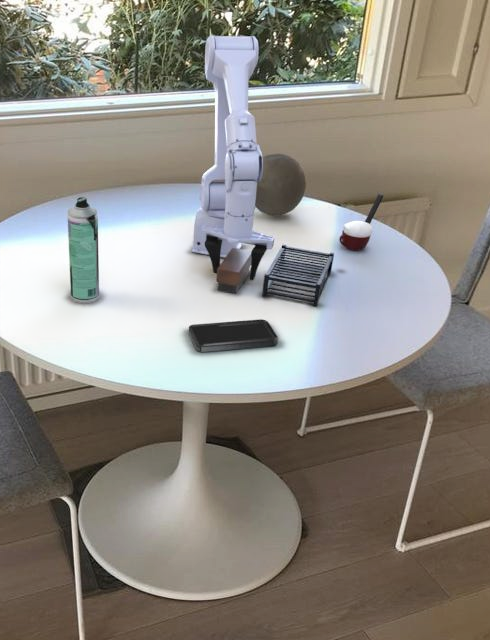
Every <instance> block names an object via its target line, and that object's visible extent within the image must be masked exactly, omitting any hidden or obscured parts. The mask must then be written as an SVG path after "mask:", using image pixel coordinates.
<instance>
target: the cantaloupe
mask: <svg viewBox="0 0 490 640" xmlns="http://www.w3.org/2000/svg"><path fill="white" fill-rule="evenodd" d="M262 158H263V171H262V177H261V179H260V181H258V180H256V181H257V190H256V200H255V208H256V210H258V211H259V212H261V213H263V214H265V215H268V216H272V217H275V216H283V215H285V214H288V213H290V212H292V211H293V210H295V208H297V207H298V205H300V203H301V201H302V200H303V198H304V196H305V193H306V189H307V188H306V187H307V183H306V175H305V173H304V170H303V169H302V166H301V165H300V162H299V161H297V160H296V159H294V158H293V157H292V156H289V155H287V154H284V153H272V154H271V153H270V154H266V155H263V156H262Z"/></svg>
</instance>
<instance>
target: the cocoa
mask: <svg viewBox="0 0 490 640" xmlns="http://www.w3.org/2000/svg"><path fill="white" fill-rule="evenodd" d="M383 198H384V194H382V193H380V192H379V193H378V194H377V195H376V198H375V200H374V202H373V204H372V206H371V208H370V210H369V213H368V215H367V217H366V218H365V221H363V220H353V221H349V222H346V223H345V224H343V230H342V233H341V234H340V236H339V239H338V241H339V243H340V245H341V246H343V247H345V248H346V249H348V250H351V251H361V250H364V249H365V248H366V247H367V245H368V244H369V242H370V239H371V235H372V234H373V231H374V230H373V226H372V225H371V223H372V221H373V219H374V217H375V215H376V213H377V211H378V209H379V206H380V204H381V203H382V200H383Z"/></svg>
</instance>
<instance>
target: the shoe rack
mask: <svg viewBox="0 0 490 640" xmlns="http://www.w3.org/2000/svg"><path fill="white" fill-rule="evenodd" d="M334 257H335V253H334V252H329V253H328V252H322V251H315V250H311V249H305V248H300V247H299V248H298V247H292V246H289V245H288V246H287V244H283V243H282V244H281V247H280V249H279V250H278V252H277V254H276V256H275V257H274V258H273V261H272V262H271V264H270V266H269V268H268V269H267V271H266V272H265V273H264V275H263V284H262V294H261V297H263V298H267V296H268V295H270V296H276V297H281V298H286V299H292V300H297V301H302V302H307V303H312V307H315V308H317V307H318V306H319V300H320V298H321V296H322V294H323V291H324V289H325V287H326V284H327V282H328V280H329V277H330V276H331V274H332V269H333V263H334ZM274 282H277V283H274ZM279 283H281V284H279ZM282 283H283V284H282ZM285 284H287V285H285ZM290 285H293V286H290ZM272 286H274V287H272ZM295 286H299V287H295ZM276 287H280V288H276ZM300 287H304V288H300ZM281 288H284V289H281ZM285 288H286V289H285ZM307 288H310V289H307ZM287 289H291V290H287ZM312 289H314V290H312ZM292 290H296V291H292ZM298 291H301V292H298ZM303 292H305V293H303ZM308 293H311V294H308ZM313 294H314V295H313Z"/></svg>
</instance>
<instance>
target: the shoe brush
mask: <svg viewBox="0 0 490 640" xmlns="http://www.w3.org/2000/svg"><path fill="white" fill-rule="evenodd" d="M251 251H252V250H248V249H243V248H240V249H237V248H232V249H231V250H230V252H229V253H228V255H227V256H226V257H225V258H223V259H222V262H220V266H219V267H218V268H217V274H216V283H218V284H217V291H219V292H225V293H230V294H235V295H236V294H237V293H238V291H239V290H240V288H241V287H242V285H243V284H244V282H245V281H246V279H247V277H248V275H250V268H251Z"/></svg>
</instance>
